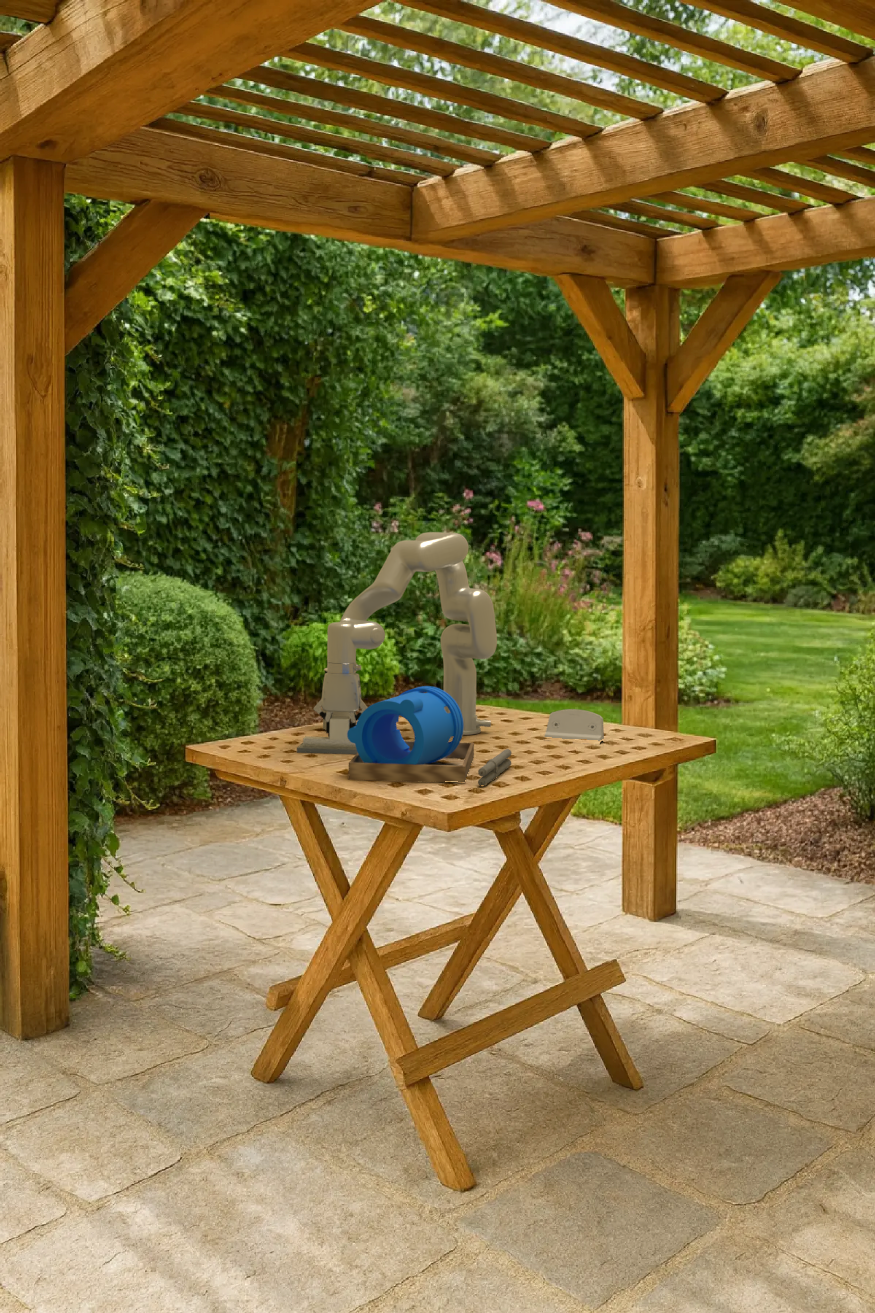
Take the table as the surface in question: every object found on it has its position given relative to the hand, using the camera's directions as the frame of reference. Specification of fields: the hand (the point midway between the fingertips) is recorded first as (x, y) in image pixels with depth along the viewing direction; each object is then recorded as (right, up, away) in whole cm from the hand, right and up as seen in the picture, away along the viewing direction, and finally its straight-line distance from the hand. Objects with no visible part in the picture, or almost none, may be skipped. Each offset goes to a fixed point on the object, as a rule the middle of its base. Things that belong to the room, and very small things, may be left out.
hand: (341, 736), depth 322 cm
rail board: (0, -4, 0) cm, 4 cm away
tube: (+18, -7, -23) cm, 30 cm away
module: (0, 0, 0) cm, 1 cm away
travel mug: (-4, -1, +33) cm, 33 cm away
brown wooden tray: (+20, -7, -22) cm, 31 cm away
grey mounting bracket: (+65, -3, +20) cm, 68 cm away
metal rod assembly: (+40, -8, -31) cm, 51 cm away
